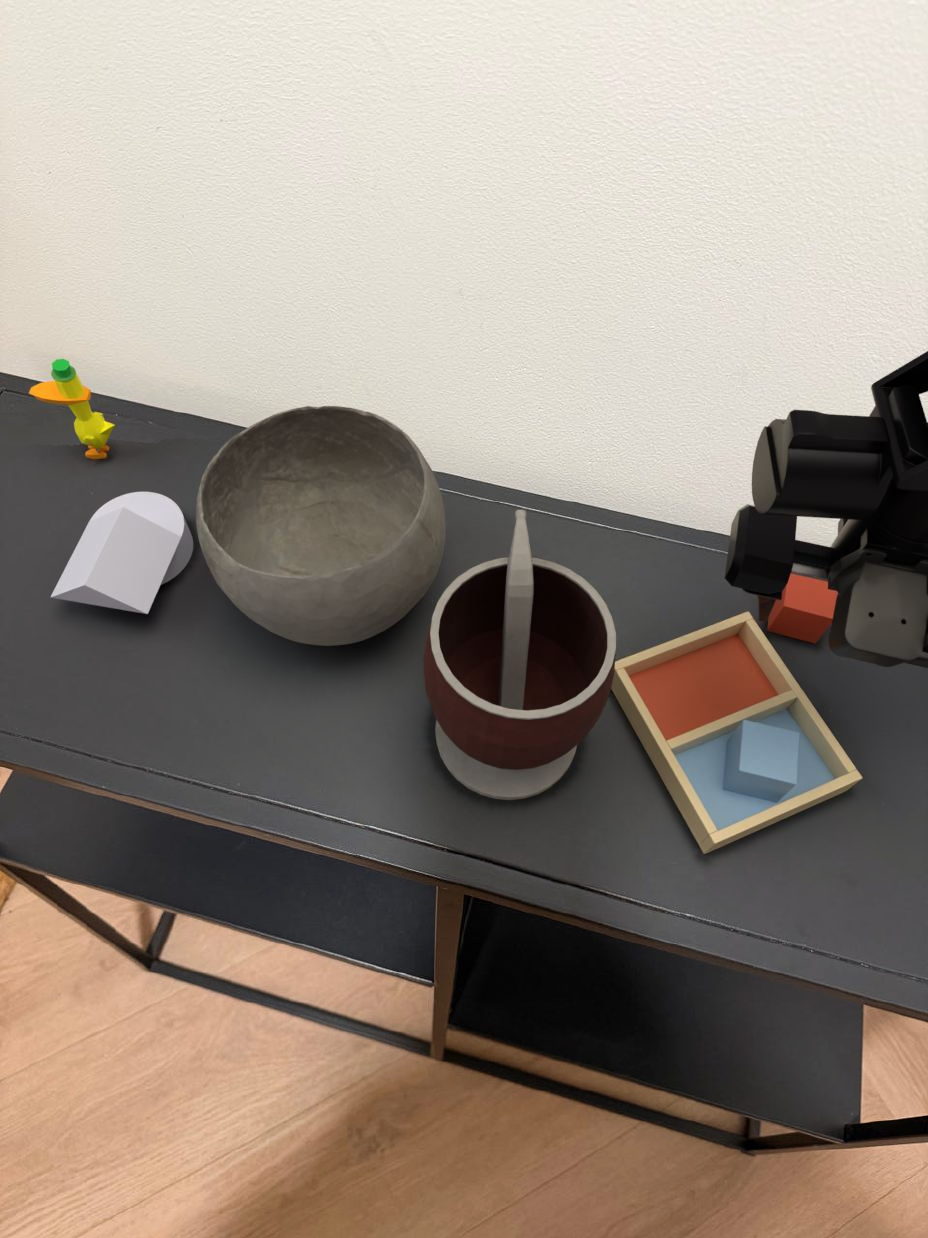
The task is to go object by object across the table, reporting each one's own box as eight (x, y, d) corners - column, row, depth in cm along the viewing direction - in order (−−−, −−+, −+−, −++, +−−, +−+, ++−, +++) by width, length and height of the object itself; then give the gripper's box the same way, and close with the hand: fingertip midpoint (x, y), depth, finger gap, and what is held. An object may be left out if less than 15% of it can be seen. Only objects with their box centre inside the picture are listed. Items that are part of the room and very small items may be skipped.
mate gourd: (593, 809, 69) (644, 707, 52) (425, 810, 68) (419, 707, 51) (578, 644, 77) (618, 508, 60) (427, 644, 76) (423, 507, 59)
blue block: (780, 753, 71) (799, 732, 67) (777, 803, 69) (797, 784, 65) (726, 740, 71) (743, 719, 67) (722, 789, 69) (738, 770, 65)
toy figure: (59, 463, 86) (7, 374, 76) (69, 437, 88) (20, 347, 78) (124, 466, 86) (81, 378, 76) (133, 440, 88) (92, 351, 78)
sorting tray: (737, 628, 78) (748, 611, 75) (847, 790, 70) (863, 778, 68) (605, 678, 75) (611, 662, 72) (703, 854, 67) (714, 844, 64)
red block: (819, 604, 80) (838, 578, 76) (815, 644, 77) (835, 619, 73) (772, 592, 80) (788, 565, 76) (766, 631, 78) (783, 605, 74)
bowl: (469, 524, 83) (474, 416, 70) (411, 705, 73) (404, 618, 60) (275, 481, 86) (245, 369, 73) (192, 651, 75) (140, 555, 63)
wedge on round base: (158, 633, 76) (206, 521, 83) (135, 593, 71) (188, 476, 77) (65, 616, 77) (119, 506, 83) (34, 576, 71) (95, 461, 78)
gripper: (754, 576, 50) (689, 690, 63) (1083, 649, 48) (944, 751, 61) (768, 441, 55) (706, 572, 69) (1064, 500, 53) (940, 624, 67)
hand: (820, 630), depth 66 cm, fingers open, 9 cm apart
